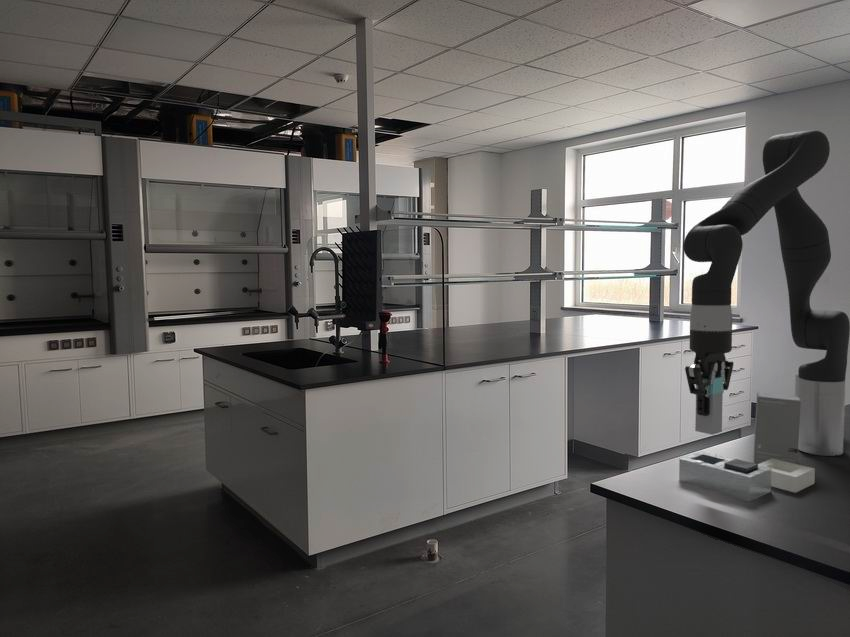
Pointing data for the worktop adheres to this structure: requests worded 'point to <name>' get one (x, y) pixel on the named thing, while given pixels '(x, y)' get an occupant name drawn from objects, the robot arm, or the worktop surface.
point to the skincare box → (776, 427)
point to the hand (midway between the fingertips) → (709, 413)
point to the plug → (712, 410)
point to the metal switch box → (725, 475)
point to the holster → (789, 475)
